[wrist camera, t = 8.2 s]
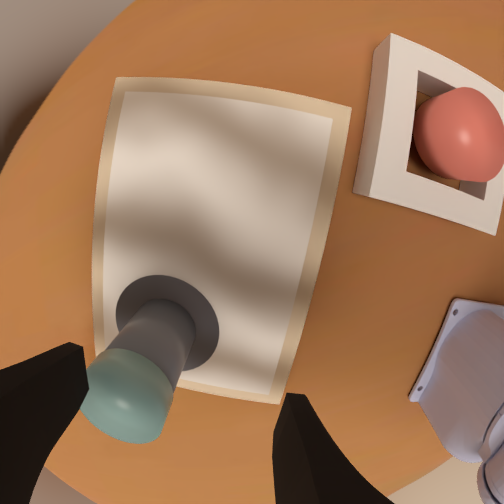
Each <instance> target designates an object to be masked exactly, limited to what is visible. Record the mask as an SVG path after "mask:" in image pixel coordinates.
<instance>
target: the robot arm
mask: <svg viewBox="0 0 504 504" xmlns="http://www.w3.org/2000/svg"><path fill="white" fill-rule="evenodd" d="M455 309H456V310H455ZM454 310H455V312H454V313H453V311H454ZM88 391H89V384H88V378H87V372H86V365H85V358H84V351H83V347H82V346H79V345H76V344H74V343H71V342H68V343H66V344H63V345H60V346H58V347H56V348H53V349H51V350H49V351H46V352H44V353H42V354H39V355H37V356H35V357H32V358H30V359H28V360H25V361H23V362H20V363H18V364H15V365H12V366H10V367H7V368H4V369H1V370H0V504H29V502H30V499H31V496H32V493H33V490H34V487H35V485H36V482H37V479H38V477H39V475H40V472H41V470H42V468H43V466H44V464H45V462H46V459H47V457H48V456H49V454H50V452H51V450H52V449H53V447H54V446H55V444H56V443H57V441H58V440H59V438H60V437H61V435H62V434H63V433H64V431H65V430H66V428H67V427H68V425H69V424H70V422H71V421H72V419H73V418H74V416H75V415H76V414H77V412H78V411H79V409H80V407H81V405H82V403H83V401H84V399H85V397H86V395H87V393H88ZM409 400H410V401H411V402H419V404H420V406H421V408H422V409H423V411H424V413H425V415H426V416H427V418H428V420H429V422H430V423H431V425H432V427H433V429H434V430H435V432H436V434H437V436H438V438H439V439H440V441H441V443H442V445H443V446H444V448H445V449H446V450H447V451H448V452H449V453H450V454H451V455H453V456H454V457H456V458H457V459H459V460H461V461H464V462H469V463H476V462H481V461H483V462H482V464H481V465H480V467H479V470H478V473H477V484H478V490H479V494H480V497H481V499H482V501H483V503H484V504H504V306H503V305H496V304H490V303H484V302H478V301H472V300H466V299H460V298H456V299H454V300H453V301H452V303H451V305H450V308H449V310H448V313H447V316H446V318H445V321H444V323H443V326H442V328H441V330H440V333H439V335H438V337H437V340H436V342H435V344H434V347H433V349H432V351H431V353H430V355H429V357H428V360H427V362H426V364H425V366H424V368H423V370H422V372H421V374H420V376H419V378H418V380H417V382H416V383H415V385H414V387H413V389H412V391H411V393H410V395H409ZM272 460H273V474H274V487H275V500H276V504H394V503H393V502H392V501H390V500H389V499H388V498H387V497H385V496H384V495H383V494H382V493H380V492H379V491H378V490H377V489H376V488H374V487H373V486H372V485H371V484H370V483H369V482H368V481H367V480H366V479H365V478H364V477H363V476H362V475H361V474H360V473H359V472H358V471H357V470H356V469H355V467H354V466H353V465H352V464H351V463H350V462H349V460H348V459H347V458H346V457H345V455H344V454H343V453H342V452H341V450H340V449H339V448H338V446H337V445H336V443H335V442H334V441H333V439H332V438H331V436H330V435H329V433H328V432H327V430H326V429H325V427H324V426H323V424H322V422H321V421H320V419H319V418H318V416H317V414H316V412H315V411H314V409H313V407H312V406H311V404H310V402H309V400H308V398H307V397H306V396H305V394H294V393H287V394H286V397H285V400H284V403H283V406H282V409H281V412H280V415H279V418H278V421H277V423H276V426H275V429H274V433H273V451H272Z"/></svg>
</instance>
